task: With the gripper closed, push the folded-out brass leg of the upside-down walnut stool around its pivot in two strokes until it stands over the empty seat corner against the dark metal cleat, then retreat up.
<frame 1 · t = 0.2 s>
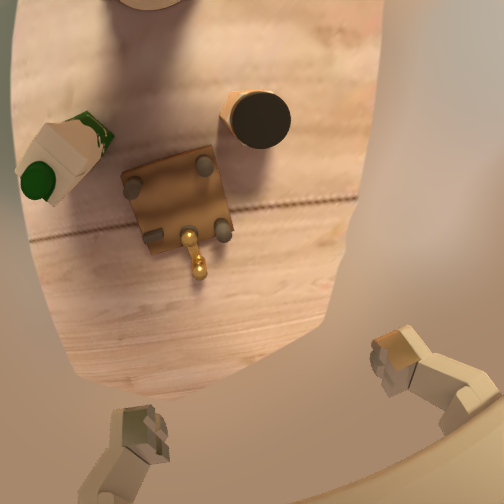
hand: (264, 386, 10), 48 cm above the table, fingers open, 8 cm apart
milk carton: (88, 138, 46), on the table
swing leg: (194, 254, 56), point 5 cm above the table, hinge at 0.0°
jar: (245, 112, 50), on the table
stool seat: (178, 199, 55), on the table
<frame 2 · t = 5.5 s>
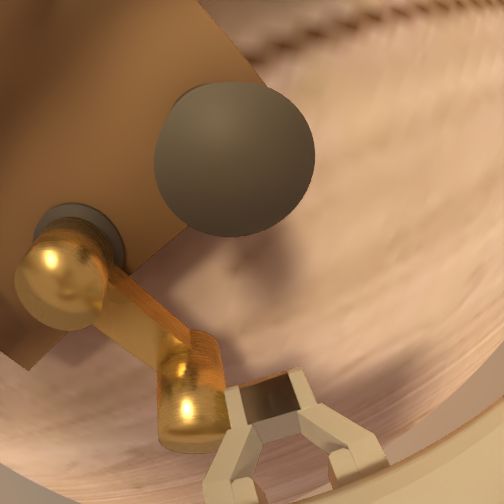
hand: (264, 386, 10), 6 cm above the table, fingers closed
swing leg: (129, 350, 9), point 5 cm above the table, hinge at -2.8°, touching gripper
stool seat: (1, 121, 9), on the table
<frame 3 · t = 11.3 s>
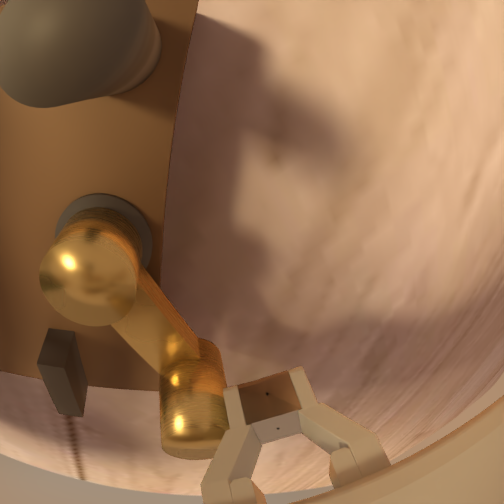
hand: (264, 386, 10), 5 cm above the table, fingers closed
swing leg: (146, 353, 9), point 5 cm above the table, hinge at -56.5°, touching gripper
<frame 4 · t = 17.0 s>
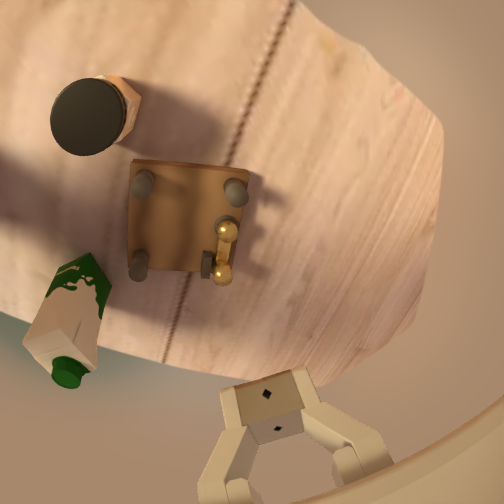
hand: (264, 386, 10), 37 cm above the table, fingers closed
milk carton: (85, 275, 47), on the table
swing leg: (224, 252, 45), point 5 cm above the table, hinge at -90.4°
jar: (110, 107, 36), on the table
stool seat: (183, 215, 46), on the table
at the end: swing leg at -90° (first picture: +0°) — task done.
